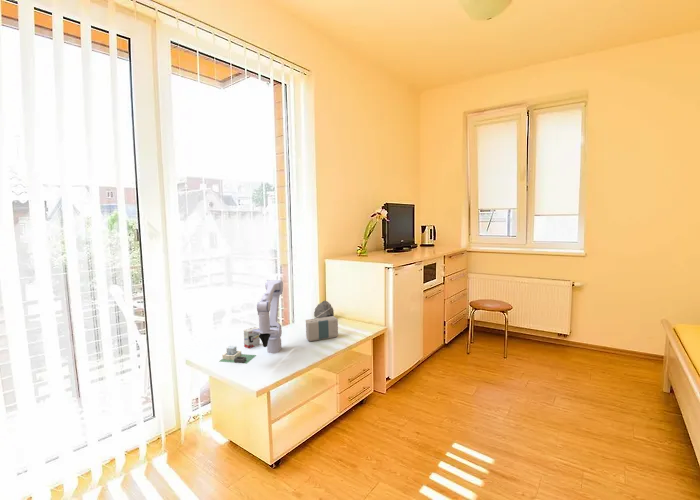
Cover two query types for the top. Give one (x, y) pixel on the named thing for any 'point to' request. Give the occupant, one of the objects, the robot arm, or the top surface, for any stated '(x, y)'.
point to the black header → (239, 359)
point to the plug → (231, 350)
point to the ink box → (251, 338)
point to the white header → (231, 356)
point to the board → (248, 357)
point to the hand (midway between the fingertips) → (265, 346)
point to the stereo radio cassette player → (321, 328)
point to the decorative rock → (323, 310)
